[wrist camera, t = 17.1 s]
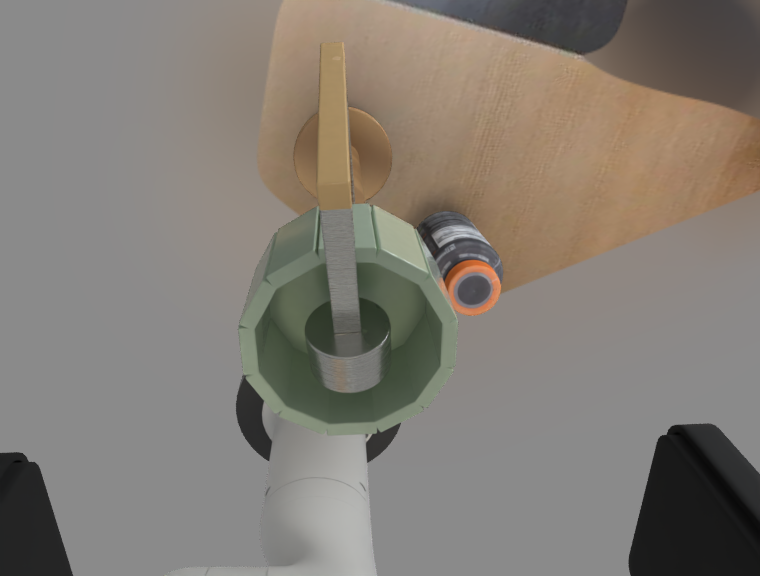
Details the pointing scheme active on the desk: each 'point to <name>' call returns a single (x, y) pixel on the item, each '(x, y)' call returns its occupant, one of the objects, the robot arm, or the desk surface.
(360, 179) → the stand
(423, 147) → the desk surface
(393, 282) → the bowl
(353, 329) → the wood-topped metal bracket
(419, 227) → the pill bottle
